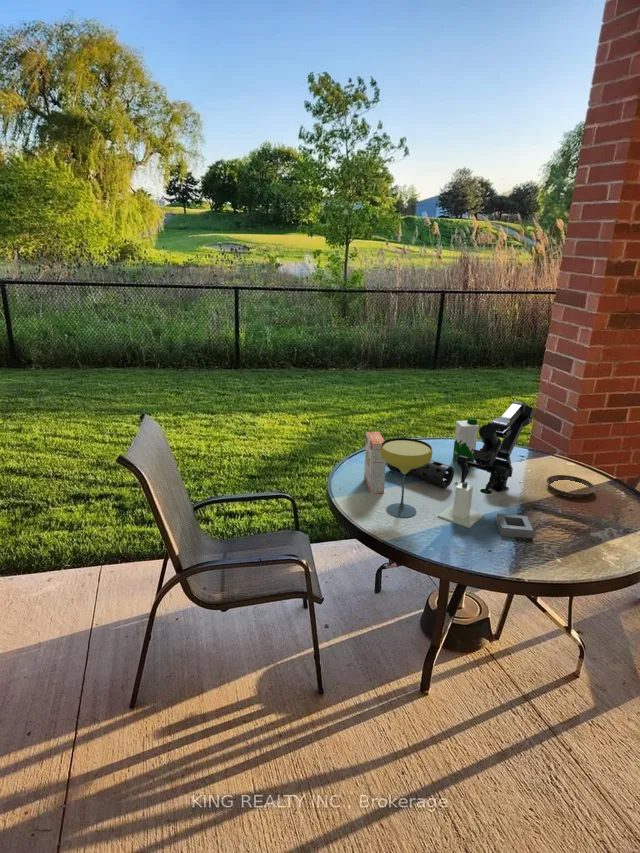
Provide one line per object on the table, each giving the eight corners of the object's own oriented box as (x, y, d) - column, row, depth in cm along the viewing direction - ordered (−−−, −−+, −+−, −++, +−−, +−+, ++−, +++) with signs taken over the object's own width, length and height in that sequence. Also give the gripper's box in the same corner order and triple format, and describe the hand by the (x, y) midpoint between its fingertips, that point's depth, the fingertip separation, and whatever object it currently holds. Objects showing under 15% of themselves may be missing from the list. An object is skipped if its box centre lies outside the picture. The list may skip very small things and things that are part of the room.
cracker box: (363, 479, 215) (365, 431, 208) (377, 479, 216) (380, 431, 209) (368, 494, 202) (371, 443, 195) (384, 493, 202) (387, 443, 196)
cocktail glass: (370, 517, 184) (374, 451, 176) (383, 496, 200) (387, 434, 192) (421, 527, 178) (427, 459, 170) (430, 504, 194) (436, 442, 186)
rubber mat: (453, 505, 194) (453, 503, 194) (484, 515, 187) (484, 514, 187) (437, 516, 185) (437, 515, 185) (469, 528, 178) (469, 526, 178)
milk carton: (476, 464, 233) (481, 421, 226) (456, 464, 232) (461, 422, 225) (468, 456, 241) (473, 415, 235) (450, 457, 240) (454, 416, 234)
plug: (458, 510, 189) (461, 479, 185) (469, 514, 186) (473, 482, 182) (452, 515, 186) (456, 483, 182) (464, 519, 183) (468, 486, 179)
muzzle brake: (440, 493, 204) (443, 469, 200) (382, 473, 222) (384, 450, 218) (452, 486, 210) (455, 462, 207) (395, 467, 228) (397, 445, 225)
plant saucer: (571, 503, 198) (573, 496, 197) (535, 485, 213) (536, 478, 212) (603, 495, 205) (605, 488, 204) (567, 478, 220) (568, 472, 219)
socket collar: (496, 521, 183) (497, 513, 182) (525, 523, 182) (526, 516, 181) (500, 535, 174) (502, 527, 173) (532, 538, 173) (533, 530, 172)
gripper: (460, 434, 193) (444, 471, 189) (510, 447, 182) (493, 485, 177) (467, 448, 202) (451, 483, 197) (515, 461, 190) (499, 498, 186)
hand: (473, 487), depth 189 cm, fingers open, 9 cm apart
